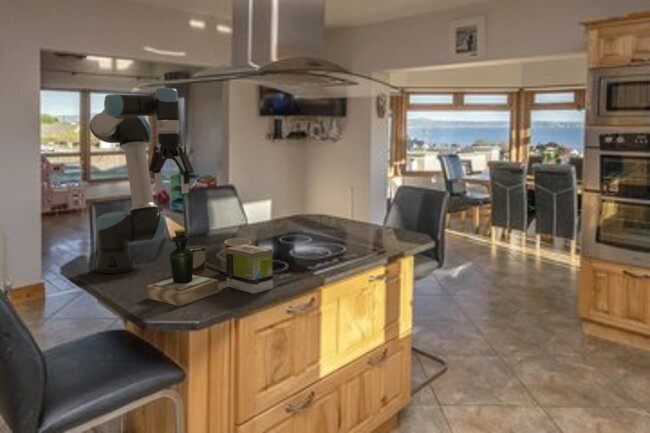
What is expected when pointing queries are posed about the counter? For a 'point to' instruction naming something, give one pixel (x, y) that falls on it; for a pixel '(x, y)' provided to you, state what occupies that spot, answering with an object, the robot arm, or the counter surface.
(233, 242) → the plastic cup
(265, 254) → the tea box
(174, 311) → the counter surface
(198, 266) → the food container
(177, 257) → the potion bottle
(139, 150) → the robot arm
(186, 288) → the pedestal base
